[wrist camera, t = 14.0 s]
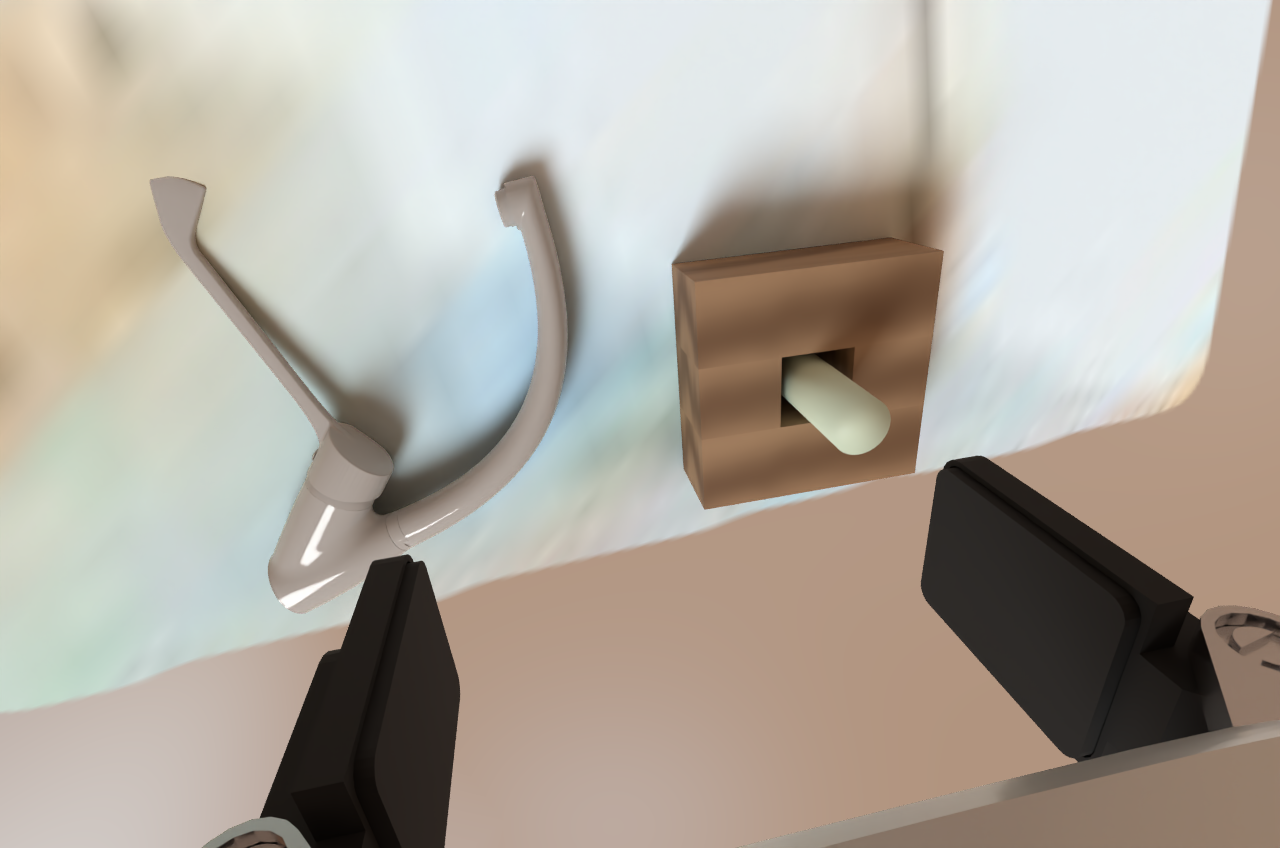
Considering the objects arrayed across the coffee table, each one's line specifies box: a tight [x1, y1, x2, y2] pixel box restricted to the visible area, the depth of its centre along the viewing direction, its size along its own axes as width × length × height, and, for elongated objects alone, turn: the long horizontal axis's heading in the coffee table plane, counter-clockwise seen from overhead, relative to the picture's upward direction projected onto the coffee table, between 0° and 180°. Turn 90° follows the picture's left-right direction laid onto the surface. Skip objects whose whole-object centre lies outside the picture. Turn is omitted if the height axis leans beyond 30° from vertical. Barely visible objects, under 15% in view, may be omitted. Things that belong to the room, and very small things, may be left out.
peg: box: [781, 353, 891, 455], centre depth 40 cm, size 4×4×12 cm
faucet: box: [150, 176, 568, 614], centre depth 39 cm, size 5×28×28 cm
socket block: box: [672, 238, 944, 509], centre depth 43 cm, size 16×16×6 cm
